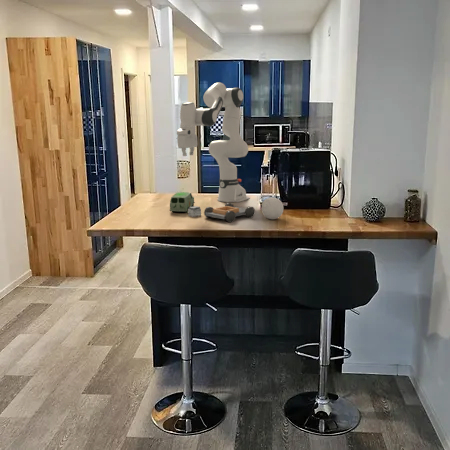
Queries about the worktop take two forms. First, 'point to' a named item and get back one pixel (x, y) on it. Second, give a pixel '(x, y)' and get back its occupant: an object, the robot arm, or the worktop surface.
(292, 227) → the worktop surface
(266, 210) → the decorative ball
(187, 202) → the toy car
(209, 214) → the chassis
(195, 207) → the grey wooden block
